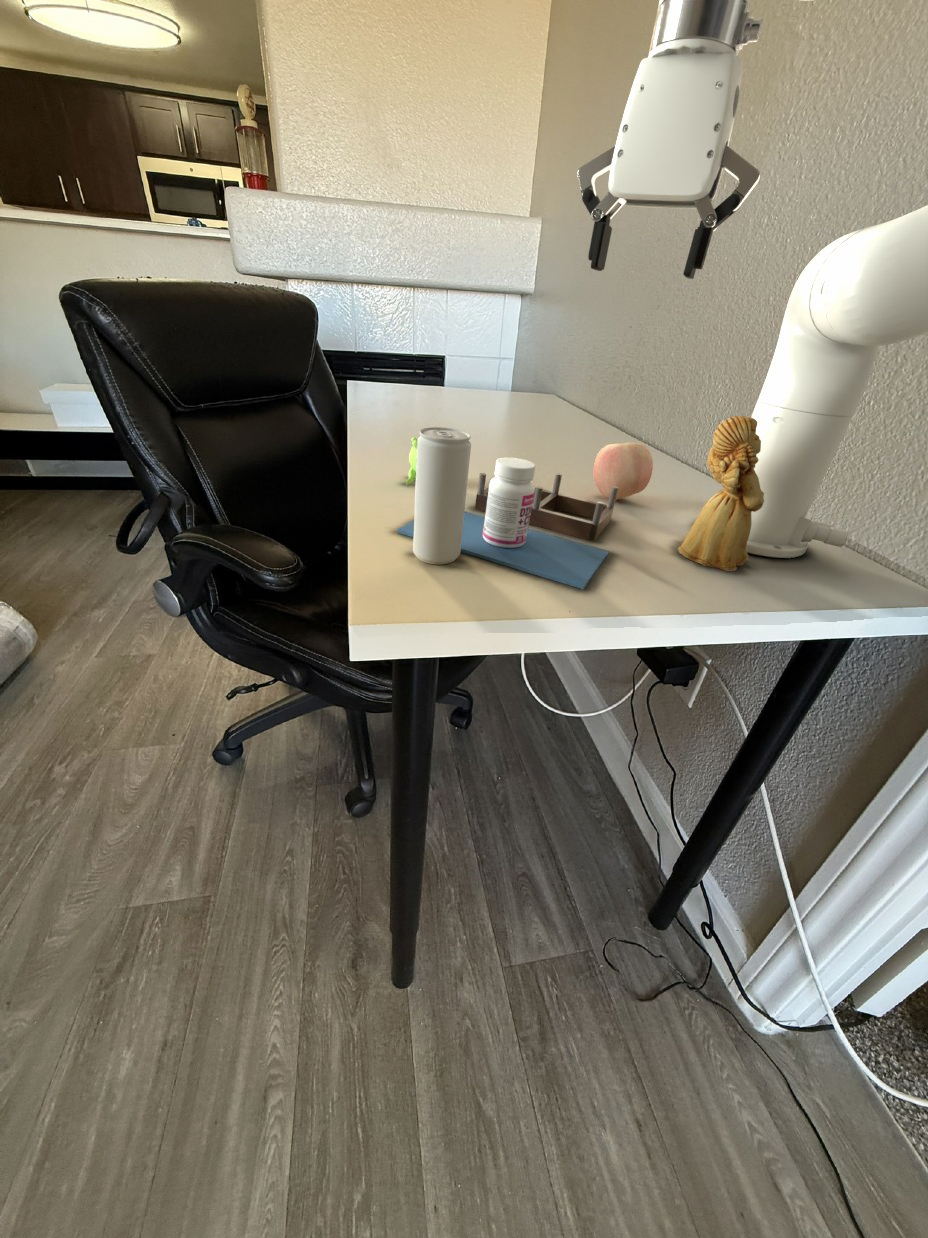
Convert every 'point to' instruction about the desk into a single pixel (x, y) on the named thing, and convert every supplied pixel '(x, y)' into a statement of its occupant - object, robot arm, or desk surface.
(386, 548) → the desk surface
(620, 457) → the peach
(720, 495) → the figurine
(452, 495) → the beverage can
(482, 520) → the mat
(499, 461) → the pill bottle
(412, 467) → the green toy figure
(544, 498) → the brown divided tray
